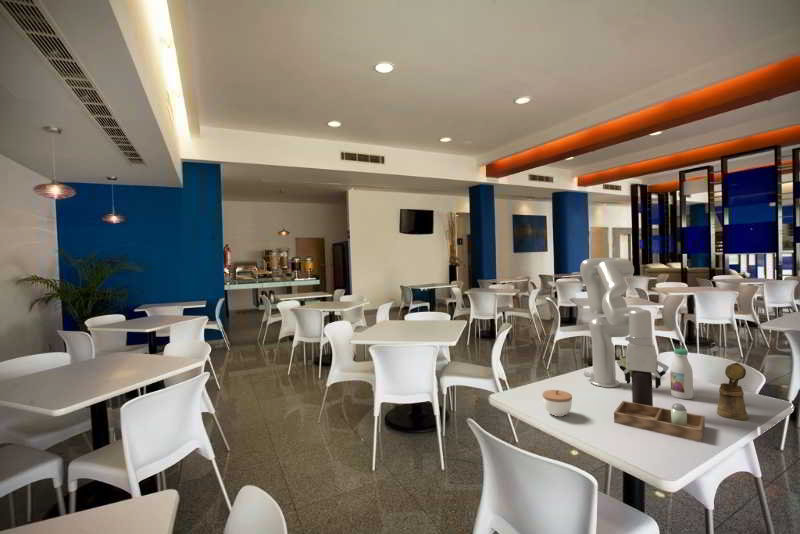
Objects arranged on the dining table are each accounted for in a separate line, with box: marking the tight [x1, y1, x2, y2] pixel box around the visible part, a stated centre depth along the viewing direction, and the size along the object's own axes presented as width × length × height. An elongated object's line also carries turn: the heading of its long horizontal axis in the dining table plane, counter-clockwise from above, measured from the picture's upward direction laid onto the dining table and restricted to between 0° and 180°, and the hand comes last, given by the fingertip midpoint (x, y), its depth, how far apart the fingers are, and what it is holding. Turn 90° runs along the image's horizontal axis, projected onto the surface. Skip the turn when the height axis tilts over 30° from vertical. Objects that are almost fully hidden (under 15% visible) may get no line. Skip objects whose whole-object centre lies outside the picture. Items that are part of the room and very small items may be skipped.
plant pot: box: [619, 355, 633, 377], centre depth 195 cm, size 9×9×9 cm
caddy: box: [613, 400, 706, 443], centre depth 137 cm, size 25×14×4 cm, turn 48°
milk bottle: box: [669, 348, 694, 400], centre depth 164 cm, size 8×8×20 cm
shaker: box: [670, 402, 688, 427], centre depth 133 cm, size 4×4×9 cm
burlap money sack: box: [716, 362, 749, 421], centre depth 145 cm, size 9×14×18 cm, turn 127°
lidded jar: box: [542, 389, 573, 417], centre depth 151 cm, size 11×11×9 cm
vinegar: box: [631, 371, 654, 407], centre depth 151 cm, size 7×7×20 cm
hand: (642, 385), depth 151 cm, fingers open, 9 cm apart
